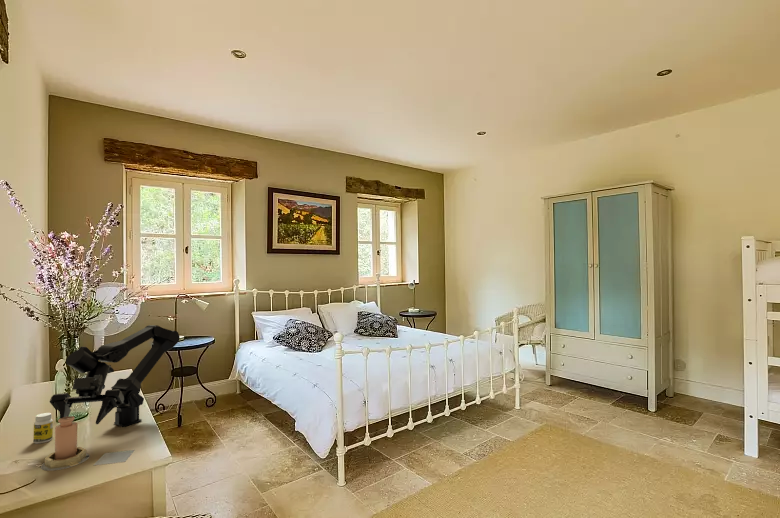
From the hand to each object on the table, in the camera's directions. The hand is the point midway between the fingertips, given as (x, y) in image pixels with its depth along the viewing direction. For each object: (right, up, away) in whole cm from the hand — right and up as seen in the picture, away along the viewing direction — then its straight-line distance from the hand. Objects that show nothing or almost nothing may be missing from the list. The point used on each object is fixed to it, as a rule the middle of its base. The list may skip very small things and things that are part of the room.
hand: (79, 425), depth 125 cm
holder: (+2, -8, -8) cm, 11 cm away
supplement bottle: (-18, -9, +8) cm, 22 cm away
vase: (+2, -7, -8) cm, 11 cm away
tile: (+15, -8, -6) cm, 17 cm away
